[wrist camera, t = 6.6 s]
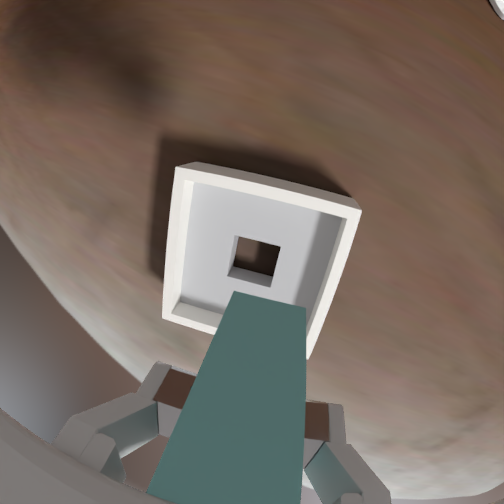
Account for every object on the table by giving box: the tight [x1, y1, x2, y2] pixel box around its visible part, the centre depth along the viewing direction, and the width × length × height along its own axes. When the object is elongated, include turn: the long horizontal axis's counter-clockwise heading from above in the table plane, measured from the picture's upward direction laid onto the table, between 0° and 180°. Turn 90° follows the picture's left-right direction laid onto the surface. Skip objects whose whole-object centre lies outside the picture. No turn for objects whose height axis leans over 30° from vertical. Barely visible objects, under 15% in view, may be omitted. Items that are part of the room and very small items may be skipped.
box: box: [162, 162, 362, 359], centre depth 29 cm, size 16×16×5 cm
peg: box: [146, 291, 306, 504], centre depth 8 cm, size 3×3×10 cm
